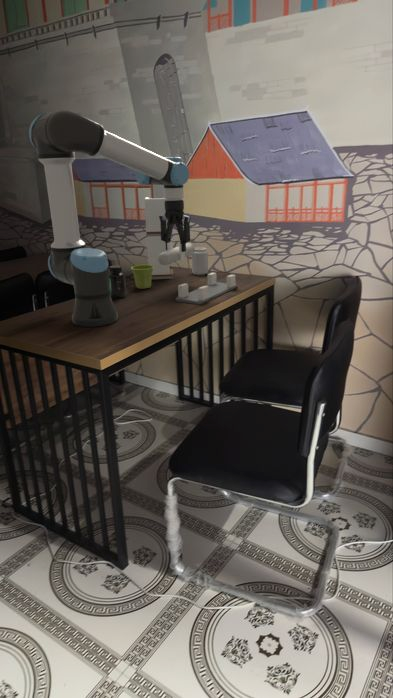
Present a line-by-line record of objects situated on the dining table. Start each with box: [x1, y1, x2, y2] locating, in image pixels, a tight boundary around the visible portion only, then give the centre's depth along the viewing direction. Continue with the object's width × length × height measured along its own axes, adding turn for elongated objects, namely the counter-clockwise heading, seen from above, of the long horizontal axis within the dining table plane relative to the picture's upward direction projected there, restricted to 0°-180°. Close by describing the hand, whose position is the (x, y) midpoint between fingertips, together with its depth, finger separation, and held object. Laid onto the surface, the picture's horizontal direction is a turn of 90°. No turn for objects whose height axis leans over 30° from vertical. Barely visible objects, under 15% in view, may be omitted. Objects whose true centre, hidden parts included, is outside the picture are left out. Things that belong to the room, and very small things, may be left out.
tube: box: [158, 242, 196, 265], centre depth 200 cm, size 5×5×25 cm
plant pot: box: [130, 264, 154, 290], centre depth 209 cm, size 9×9×9 cm
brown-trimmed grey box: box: [144, 196, 174, 280], centre depth 223 cm, size 11×11×35 cm
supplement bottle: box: [108, 264, 127, 299], centre depth 195 cm, size 7×7×12 cm
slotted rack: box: [175, 272, 239, 305], centre depth 197 cm, size 11×30×6 cm, turn 148°
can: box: [191, 247, 209, 276], centre depth 230 cm, size 8×8×12 cm
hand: (176, 259), depth 200 cm, fingers closed on tube, 5 cm apart
